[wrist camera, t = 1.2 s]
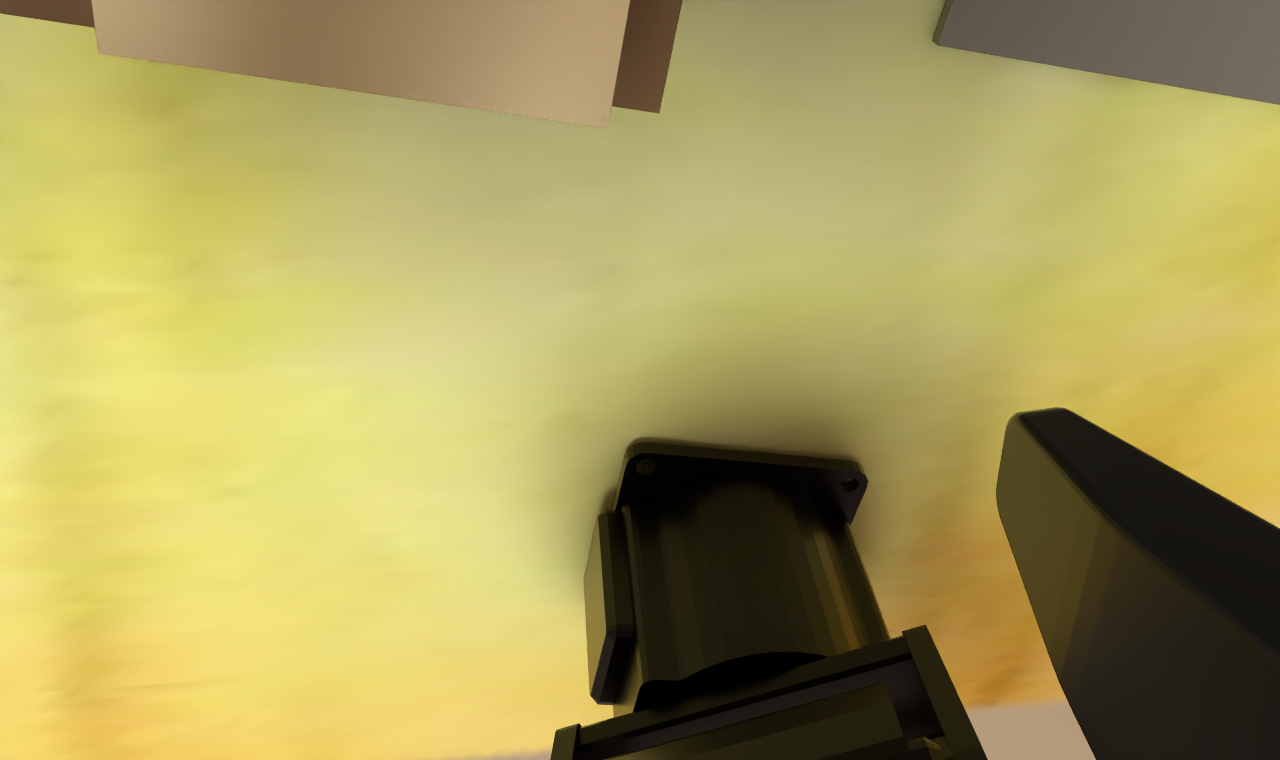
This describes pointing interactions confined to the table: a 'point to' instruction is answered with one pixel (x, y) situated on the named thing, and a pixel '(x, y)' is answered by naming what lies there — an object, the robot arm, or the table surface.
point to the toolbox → (637, 70)
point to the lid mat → (1131, 39)
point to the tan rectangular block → (393, 47)
